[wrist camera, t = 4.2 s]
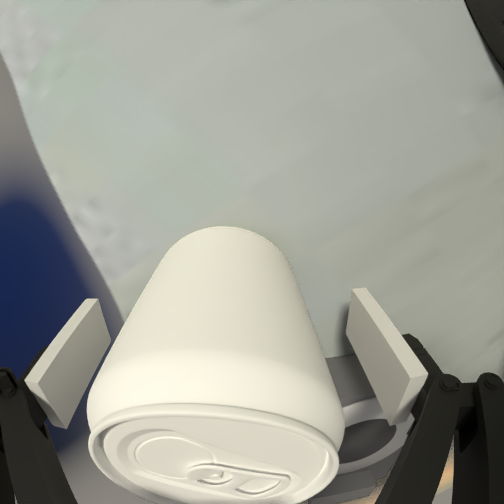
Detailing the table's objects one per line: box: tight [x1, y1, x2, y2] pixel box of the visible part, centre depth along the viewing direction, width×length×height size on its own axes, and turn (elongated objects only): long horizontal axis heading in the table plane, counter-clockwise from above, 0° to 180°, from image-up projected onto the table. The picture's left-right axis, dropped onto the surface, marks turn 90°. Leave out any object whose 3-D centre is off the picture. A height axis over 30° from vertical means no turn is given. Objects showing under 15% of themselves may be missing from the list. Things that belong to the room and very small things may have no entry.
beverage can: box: [87, 226, 345, 504], centre depth 12 cm, size 8×8×12 cm
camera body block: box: [308, 355, 414, 504], centre depth 20 cm, size 16×11×6 cm
